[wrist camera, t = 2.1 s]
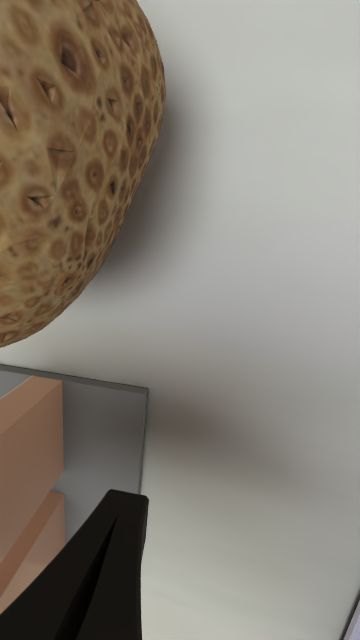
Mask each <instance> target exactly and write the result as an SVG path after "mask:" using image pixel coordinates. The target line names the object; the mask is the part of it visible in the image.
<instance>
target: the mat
mask: <svg viewBox="0 0 360 640" xmlns="http://www.w3.org/2000/svg"><path fill="white" fill-rule="evenodd" d="M31 376H37V377H43V378H49V379H55V380H61V381H62V398H63V449H64V471H63V473H62V474H61V476H60V477H59V479H58V480H57V482H56V483H55V484H54V486H53V487H52V489H51V490H50V491H51V492H56V493H61V494H64V501H65V545H66V544H67V543H68V541H69V540H70V539H71V538H72V537H73V535H74V534H75V533H76V532H77V531H78V530H79V528H80V527H81V526H82V525H83V523H84V522H85V521H86V520H87V518H88V517H89V516H90V514H91V513H92V512H93V511H94V509H95V508H96V507H97V505H98V504H99V503H100V501H101V500H102V498H103V497H104V496H105V494H106V493H107V491H108V490H110V489H115V490H119V491H124V492H129V493H134V494H139V495H140V483H141V470H142V456H143V443H144V430H145V417H146V404H147V391H148V389H147V388H141V387H135V386H129V385H123V384H117V383H110V382H104V381H98V380H92V379H86V378H80V377H74V376H67V375H61V374H55V373H49V372H43V371H37V370H31V369H24V368H18V367H12V366H6V365H0V398H1V397H3V396H4V395H6V394H7V393H8V392H10V391H11V390H13V389H14V388H15V387H17V386H18V385H20V384H21V383H22V382H24V381H25V380H27V379H28V378H29V377H31Z"/></svg>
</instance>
